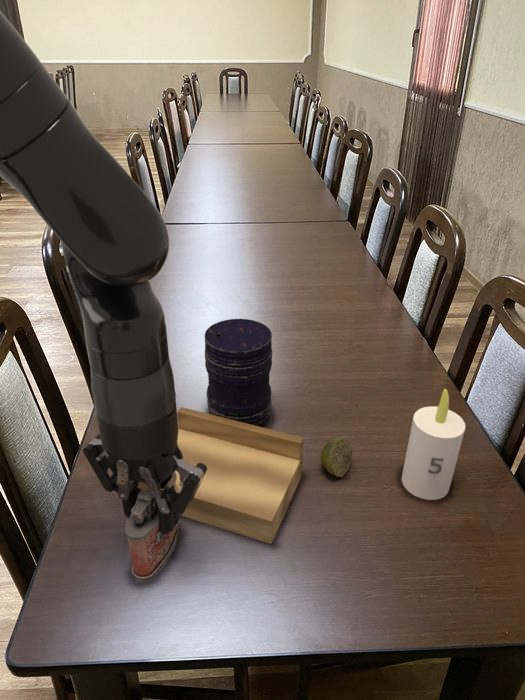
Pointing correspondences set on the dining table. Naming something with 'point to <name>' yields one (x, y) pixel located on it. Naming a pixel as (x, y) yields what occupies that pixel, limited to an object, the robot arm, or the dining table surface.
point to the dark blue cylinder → (239, 370)
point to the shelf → (239, 473)
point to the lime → (336, 456)
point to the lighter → (148, 539)
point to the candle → (433, 450)
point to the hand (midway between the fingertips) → (152, 522)
